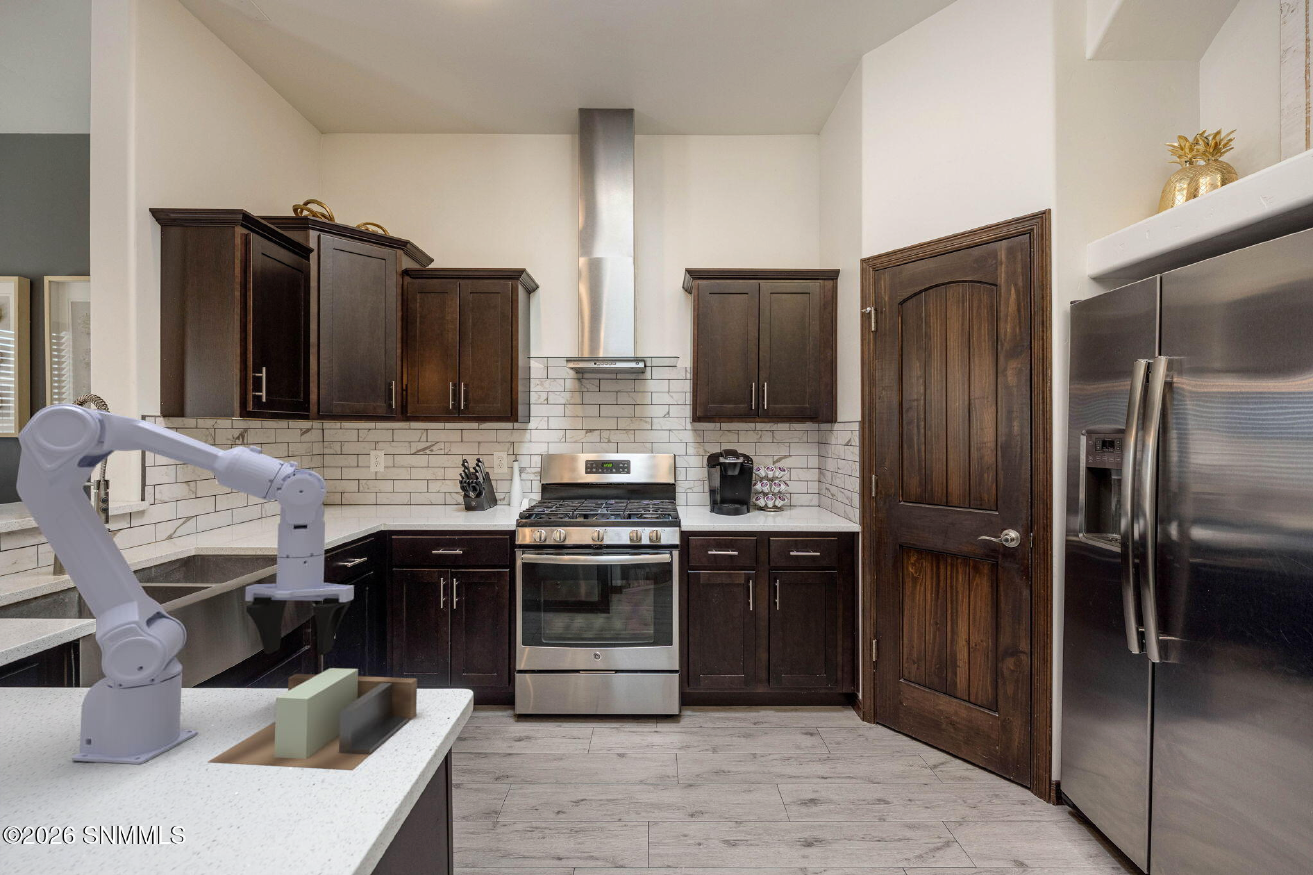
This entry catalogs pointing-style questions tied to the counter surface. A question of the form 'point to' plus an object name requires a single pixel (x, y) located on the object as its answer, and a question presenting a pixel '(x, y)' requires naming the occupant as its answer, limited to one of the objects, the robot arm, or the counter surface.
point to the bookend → (368, 721)
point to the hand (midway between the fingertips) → (298, 652)
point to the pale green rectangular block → (313, 712)
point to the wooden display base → (328, 757)
